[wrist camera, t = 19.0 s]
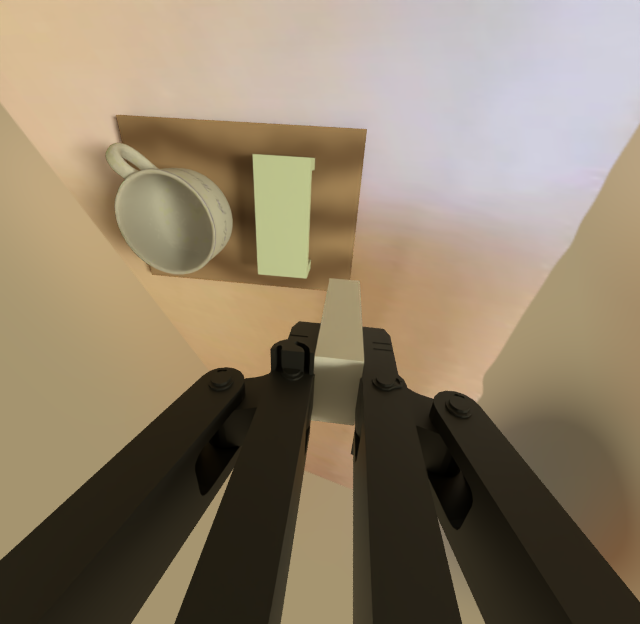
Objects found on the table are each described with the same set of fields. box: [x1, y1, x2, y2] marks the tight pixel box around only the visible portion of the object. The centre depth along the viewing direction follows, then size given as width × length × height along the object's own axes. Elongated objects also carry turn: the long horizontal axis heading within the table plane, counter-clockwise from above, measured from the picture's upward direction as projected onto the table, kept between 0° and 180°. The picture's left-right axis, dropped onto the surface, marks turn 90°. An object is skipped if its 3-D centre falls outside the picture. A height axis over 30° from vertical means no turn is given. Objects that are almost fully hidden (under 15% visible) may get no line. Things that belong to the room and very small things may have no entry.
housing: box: [253, 154, 315, 279], centre depth 34 cm, size 13×6×4 cm, turn 177°
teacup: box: [106, 143, 233, 274], centre depth 33 cm, size 14×11×8 cm
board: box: [116, 115, 367, 291], centre depth 36 cm, size 19×28×3 cm
